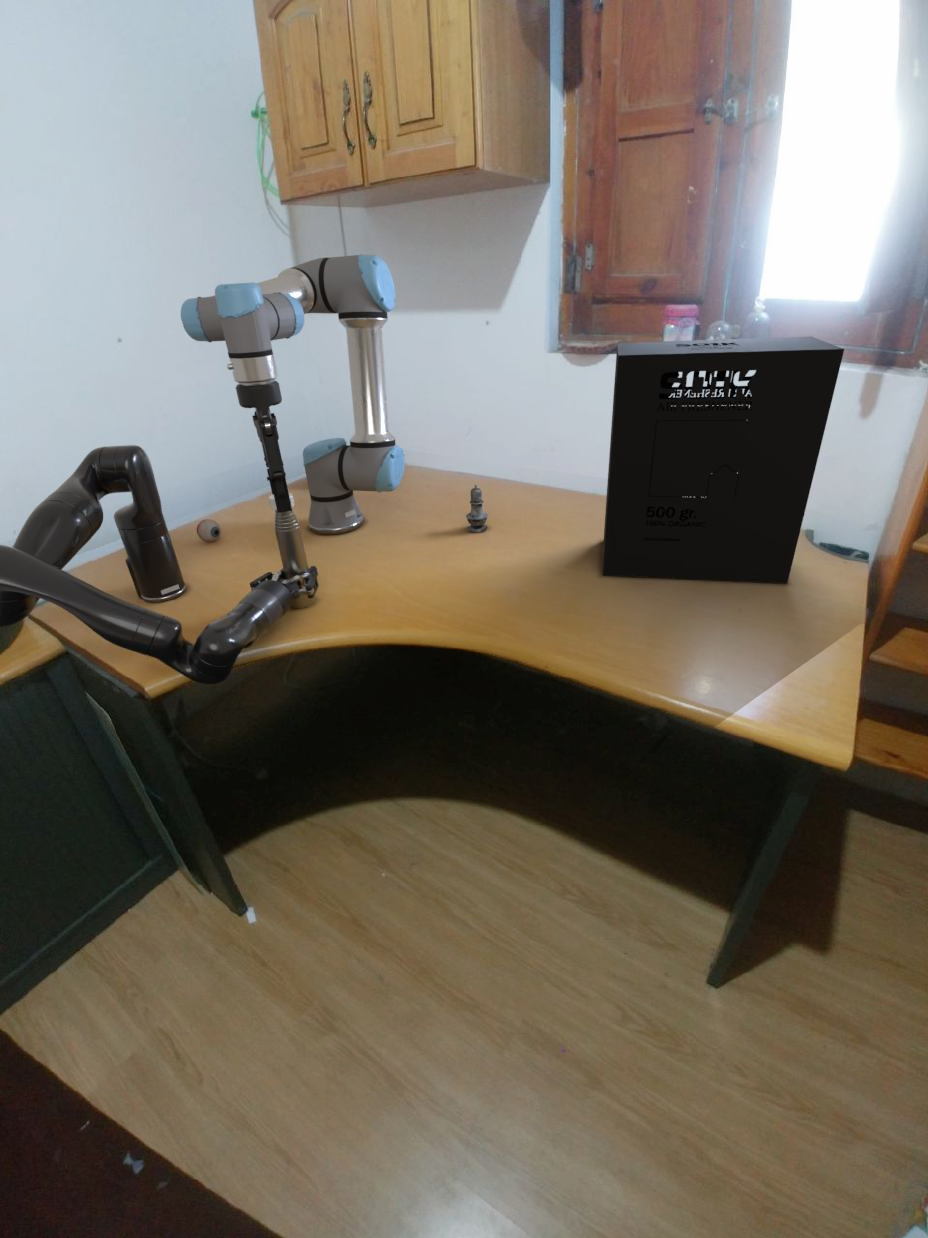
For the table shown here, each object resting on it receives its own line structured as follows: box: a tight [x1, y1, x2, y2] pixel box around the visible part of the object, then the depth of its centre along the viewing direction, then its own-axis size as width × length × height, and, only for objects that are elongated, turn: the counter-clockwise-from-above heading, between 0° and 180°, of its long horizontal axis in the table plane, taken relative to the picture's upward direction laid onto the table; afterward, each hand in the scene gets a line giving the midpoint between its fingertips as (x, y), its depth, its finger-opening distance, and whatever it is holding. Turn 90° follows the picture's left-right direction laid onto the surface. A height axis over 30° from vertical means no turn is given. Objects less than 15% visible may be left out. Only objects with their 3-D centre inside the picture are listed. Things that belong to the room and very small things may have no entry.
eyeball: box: [196, 518, 222, 543], centre depth 162 cm, size 6×6×6 cm
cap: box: [268, 491, 295, 511], centre depth 119 cm, size 4×4×2 cm
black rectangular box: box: [602, 336, 845, 585], centre depth 127 cm, size 38×20×45 cm, turn 78°
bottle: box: [273, 510, 316, 609], centre depth 124 cm, size 5×5×23 cm
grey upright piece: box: [465, 484, 489, 533], centre depth 159 cm, size 6×6×12 cm
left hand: (302, 569), depth 129 cm, fingers closed on bottle, 5 cm apart
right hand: (282, 505), depth 119 cm, fingers open, 7 cm apart
